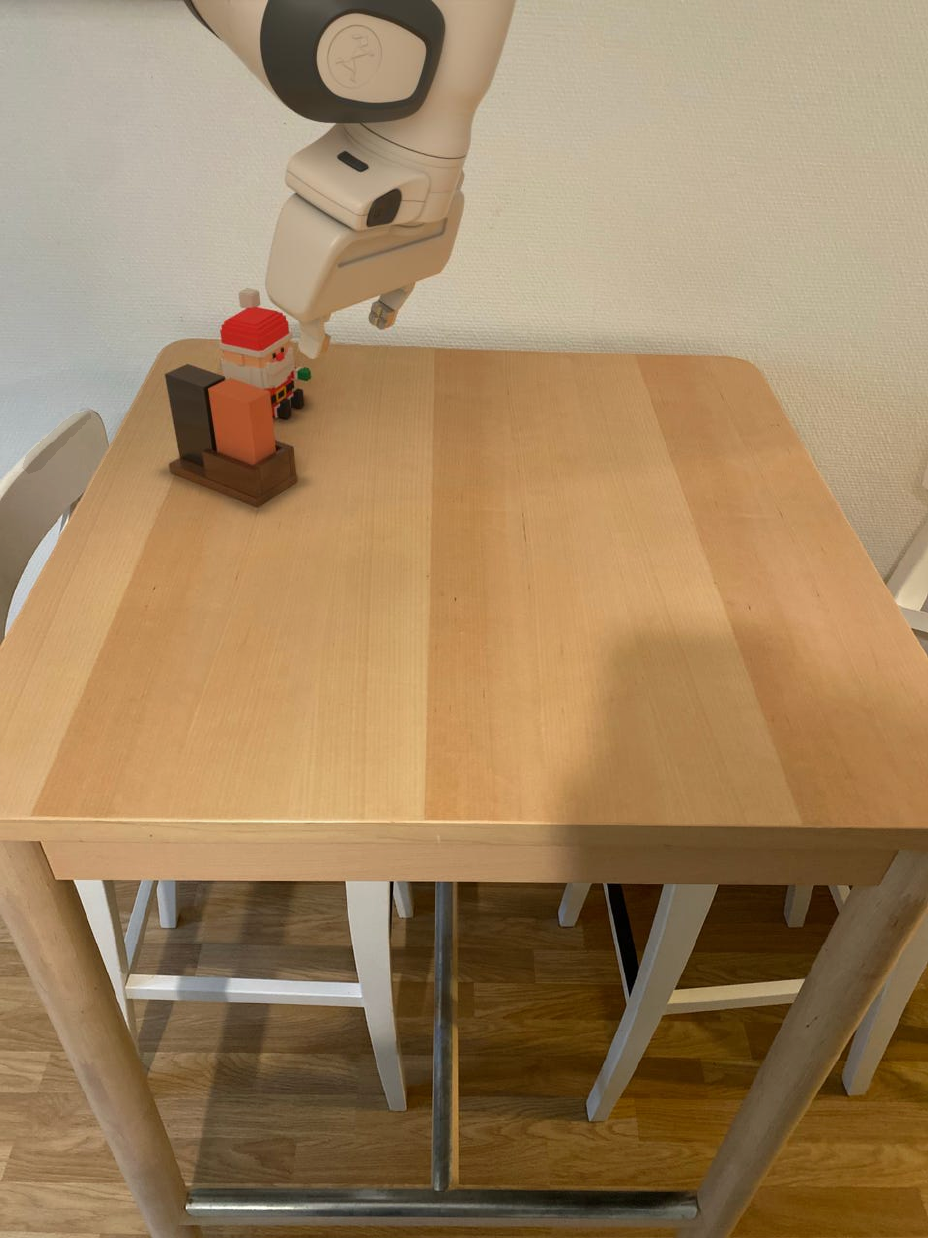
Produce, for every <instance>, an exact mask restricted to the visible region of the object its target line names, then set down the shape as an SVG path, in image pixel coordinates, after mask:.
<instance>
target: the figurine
mask: <svg viewBox="0 0 928 1238" xmlns="http://www.w3.org/2000/svg"><path fill="white" fill-rule="evenodd" d="M238 301H239V306H240V308H243V310H241V311H239V312H237V313H236V314H234V315H233V316H231V317H229V318H228V319H225V320H224V321H223V323H222V324H221V329H220V331H219V332H220V341H218V348H219V350H222V356H223V357H221V358H220V366H221V373H222V374H221V375H222V376H225V378H226V380H227V379H229V378H232V379H235V380H238V381H241V382H244V383H247V384H250V385H252V386H255V387H258V388H261V389H264V390H267V391H270V397H271V407H272V417H274V418H275V419H278V418H281V419H285V420H287V419H289V418H290V417H292V408H295V409H302V408H303V407H304V406H305V396H304V389H302V388H296V389H295V382H298V381H303V382H308V381H310V380H311V379H312V370H311V369H310V367H307V366H304V367H303V366H300V365H299V366H298V367H297V366H295V357H294V356H295V355H294V347H293V346H291V340H293V337H294V336H293V332H292V331H290V327H289V326H290V325H289V321H288V320H287V316H286V315H283V314H284V313H283V312H279V311H278V310H274V309H268V308H263V307H261V296H260V291H259V290H258V289H254V288H248V287H246V288H244V289H242V290H240V291H239V292H238Z"/></svg>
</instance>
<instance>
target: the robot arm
mask: <svg viewBox="0 0 928 1238" xmlns="http://www.w3.org/2000/svg"><path fill="white" fill-rule="evenodd" d="M182 1H183V3H184V4H185V6H186V7H187V9H188V10H189V12H190V13H191V14H192V16H193V17H194V18H195V19H196V20H197V22H199V23H200V24H201V25H202V26H203V27H204V28H205V29H207V30H208V31H209V32H210V33H211V34H213V35H214V36H215V37H216V38H217V39H218V40H220V41H221V42H222V43H223V44H225V46H226V47H227V48H228V49H229V50H230V51H231V52H232V53H233V54H234V55H235V56H236V58H238V60H239V61H240V62H241V64H243V65H244V66H245V67H246V68H247V69H248V71H250V72H251V73H252V75H253V76H255V78H256V79H257V80H258V82H260V83H261V84H262V85H263V86H264V87H265V88H266V89H267V90H268V91H269V92H270V94H272V96H274V97H275V98H276V100H277V101H279V102H280V103H281V104H282V105H284V106H285V107H287V108H288V109H289V110H291V111H292V112H293V113H295V114H296V115H298V116H300V117H302V118H305V119H307V120H309V121H313V122H317V123H324V124H334V125H332V126H331V127H330V129H329V130H328V131H326V133H324V134H323V135H321V136H320V137H319V138H318V139H316V140H315V141H313V142H311V144H309V145H307V146H305V147H304V148H302V149H300V150H299V151H297V152H296V153H294V154H293V155H292V156H291V157H290V158H289V161H288V163H287V166H286V169H285V171H286V172H285V176H284V183H285V185H286V186H287V187H288V188H289V189H291V190H292V191H293V192H294V193H292V195H290V196H289V197H288V198H287V200H286V201H285V203H284V204H283V206H282V208H281V210H280V213H279V215H278V219H277V222H276V225H275V229H274V230H275V231H274V232H273V238H272V242H271V247H270V250H269V251H270V252H269V256H268V262H267V267H266V272H265V281H264V286H265V291H266V294H267V297H268V299H269V301H270V302H271V303H272V304H273V305H274V306H276V307H277V308H278V309H280V310H281V311H283V312H284V313H285V314H287V315H289V316H290V317H291V318H293V319H295V320H296V321H298V323H299V324H298V325H299V327H300V330H301V331H300V335H299V339H298V342H297V348H298V350H299V352H300V353H302V354H303V355H305V356H306V357H307V358H309V359H311V360H313V359H317V358H319V357H321V356H323V355H326V354H327V353H328V349H329V348H328V347H329V345H330V343H331V339H332V336H331V335H330V334H328V333H326V330H325V323H328V322H330V319H331V317H332V314H334V313H337V312H339V311H341V310H344V309H347V308H350V307H352V306H355V305H357V304H360V303H363V302H365V301H368V300H372V299H373V298H377V297H379V298H378V300H376V301H373V302H372V303H371V307H370V312H369V314H368V317H367V318H368V322H369V323H370V324H371V325H372V326H373V327H374V326H375V327H376V328H377V329H378V330H380V331H381V330H386V329H388V328H390V327H393V326H394V325H395V323H396V319H397V317H398V313H399V310H400V309H402V307H403V305H404V304H405V303H406V301H407V299H408V298H410V295H411V294H412V292H413V291H414V290H415V286H416V283H417V282H420V281H423V280H425V279H428V278H431V277H434V276H437V275H439V274H441V272H443V270H444V268H446V266H447V264H448V262H449V261H450V259H451V256H452V253H453V250H454V246H455V243H456V240H457V236H458V234H459V233H458V232H459V229H460V225H461V222H462V218H463V213H464V210H465V209H464V208H465V195H464V193H463V191H462V186H463V185H464V182H465V181H464V180H465V172H464V165H465V163H466V160H467V157H468V154H469V151H470V147H471V141H472V130H473V129H472V128H473V122H474V118H475V115H476V112H477V111H478V108H479V105H480V104H481V103H482V101H483V99H484V98H485V96H486V95H487V94H488V92H489V90H490V88H491V87H492V83H493V80H494V78H495V75H496V72H497V68H498V66H499V63H500V60H501V57H502V54H503V50H504V47H505V44H506V40H507V38H508V34H509V30H510V26H511V23H512V19H513V15H514V11H515V6H516V2H517V0H182Z"/></svg>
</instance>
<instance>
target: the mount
mask: <svg viewBox="0 0 928 1238" xmlns="http://www.w3.org/2000/svg"><path fill="white" fill-rule="evenodd" d="M164 378H165V385H166V389H167V395H168V401H169V406H170V411H171V418H172V423H173V428H174V429H173V430H174V435H175V440H176V445H177V451H178V457H179V458H176V459H175V460H173V461H171V462H169V463H168V468H169V472H170V473H171V474H173V475H176V476H178V477H181V478H184V479H186V480H189V481H191V482H193V483H195V484H198V485H201V486H203V487H205V488H208V489H210V490H213V491H215V492H218V493H221V494H223V495H225V496H228V497H231V498H232V499H235V500H237V501H240V502H243V503H245V504H248V505H250V506H252V507H255V508H259V507H261V506H262V505H264V504H265V503H267V502H268V501H270V500H271V499H273V498H275V497H276V496H277V495H279V494H280V493H282V492H284V491H285V490H287V489H289V488H291V486H294V484H296V483H298V473H297V470H296V469H297V467H296V457H295V447H294V446H292V445H290V444H287V443H285V442H282V441H279V440H276V439H275V446H276V452H275V453H273V454H271V455H269V456H268V457H266V458H264V459H263V460H261V461H259V462H258V463H256V464H254V465H251V464H248V463H246V462H243V461H240V460H238V459H235V458H233V457H230V456H227V455H225V454H222V453H219V452H217V446H216V439H215V432H214V426H213V419H212V412H211V405H210V398H209V392H208V389H209V388H210V387H212V386H215V385H217V384H219V383H221V382H223V381H225V380H226V378H225V376H223V374H219V373H215V372H213V371H210V370H207V369H205V368H201V367H198V366H195V365H192V364H189V363H186V364H183V365H181V366H179V367H177V368H175V369H173V370H171V371H169V372H166V373H165V374H164Z"/></svg>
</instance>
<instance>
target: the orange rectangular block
mask: <svg viewBox="0 0 928 1238" xmlns="http://www.w3.org/2000/svg"><path fill="white" fill-rule="evenodd" d="M208 392H209V398H210V405H211V412H212V419H213V426H214V432H215V439H216V446H217V452H219V453H222V454H225V455H227V456H230V457H233V458H235V459H238V460H240V461H243V462H246V463H248V464H251V465H254V464H256V463H258V462H259V461H261V460H263V459H264V458H266V457H268V456H269V455H271V454H273V453H275V452H276V446H275V440H276V438H275V429H274V428H275V426H274V416H272V407H271V397H270V391H267V390H264V389H261V388H258V387H255V386H252V385H250V384H247V383H244V382H241V381H238V380H235V379H232V378H229V379H227V380H225V381H223V382H221V383H219V384H217V385H215V386H212V387H210V388H209V389H208Z"/></svg>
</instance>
